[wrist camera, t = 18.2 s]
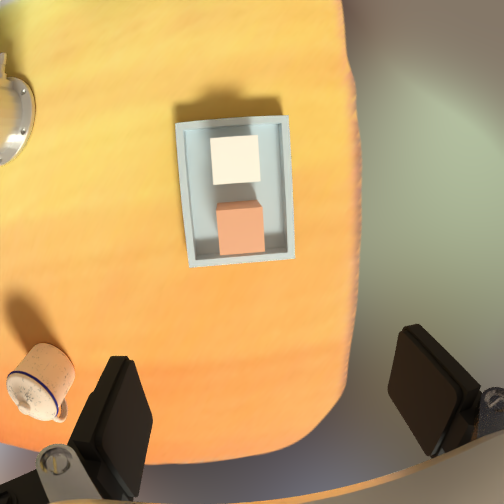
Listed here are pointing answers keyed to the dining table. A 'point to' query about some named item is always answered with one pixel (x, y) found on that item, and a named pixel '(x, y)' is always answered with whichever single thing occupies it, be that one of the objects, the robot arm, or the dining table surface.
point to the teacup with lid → (42, 383)
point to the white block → (235, 159)
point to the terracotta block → (240, 227)
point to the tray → (236, 187)
